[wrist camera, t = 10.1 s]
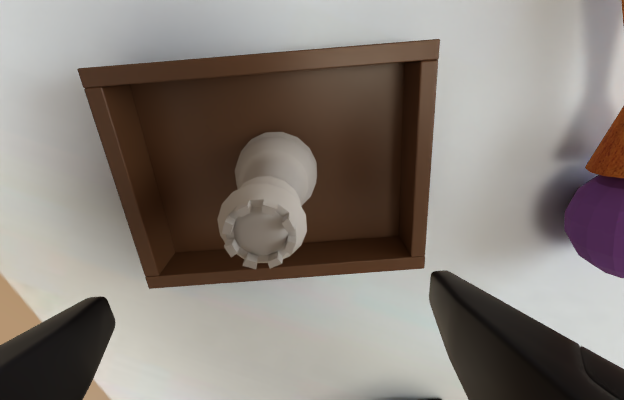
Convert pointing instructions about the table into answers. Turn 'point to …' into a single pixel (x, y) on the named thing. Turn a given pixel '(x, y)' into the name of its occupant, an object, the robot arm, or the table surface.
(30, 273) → the table surface
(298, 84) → the tray
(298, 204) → the rook chess piece
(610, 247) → the kendama
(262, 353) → the table surface
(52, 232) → the table surface
